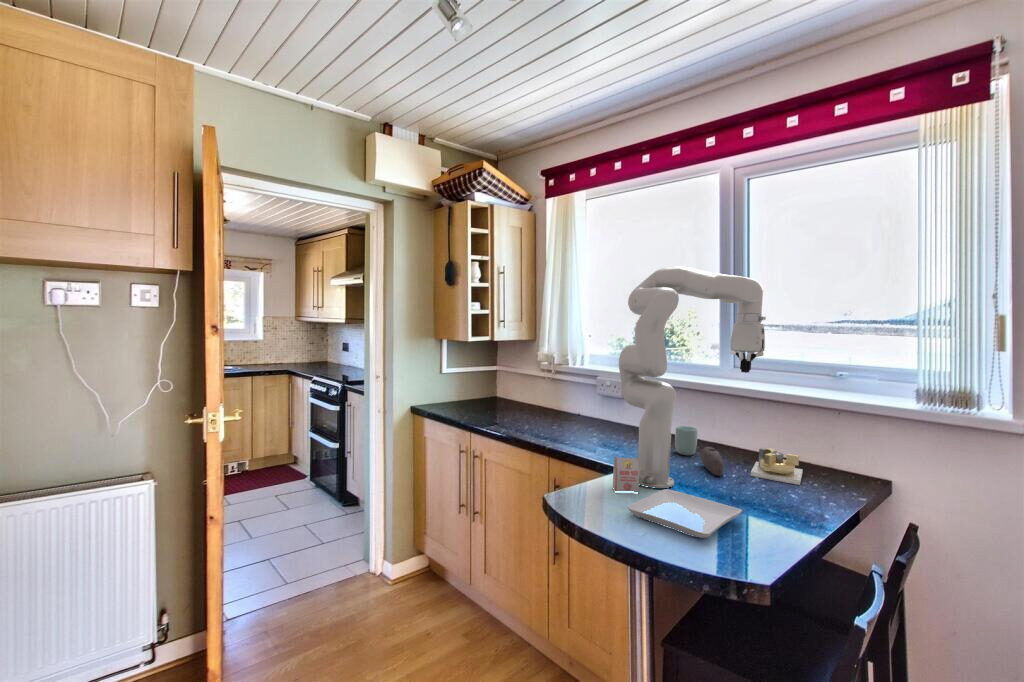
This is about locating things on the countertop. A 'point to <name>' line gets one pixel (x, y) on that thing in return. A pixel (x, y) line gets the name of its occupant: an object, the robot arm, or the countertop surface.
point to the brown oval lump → (712, 460)
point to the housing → (787, 478)
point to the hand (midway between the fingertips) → (745, 372)
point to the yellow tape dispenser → (779, 462)
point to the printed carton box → (626, 474)
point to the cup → (686, 440)
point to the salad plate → (705, 508)
